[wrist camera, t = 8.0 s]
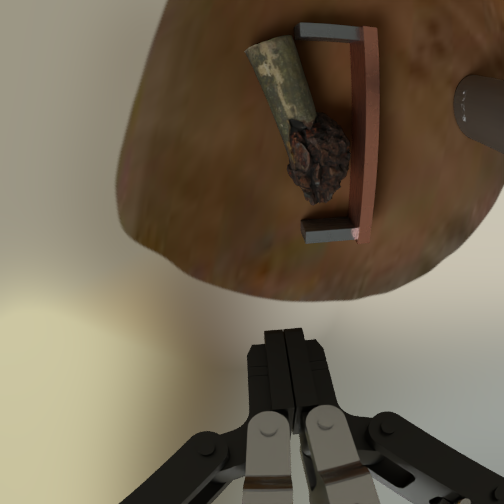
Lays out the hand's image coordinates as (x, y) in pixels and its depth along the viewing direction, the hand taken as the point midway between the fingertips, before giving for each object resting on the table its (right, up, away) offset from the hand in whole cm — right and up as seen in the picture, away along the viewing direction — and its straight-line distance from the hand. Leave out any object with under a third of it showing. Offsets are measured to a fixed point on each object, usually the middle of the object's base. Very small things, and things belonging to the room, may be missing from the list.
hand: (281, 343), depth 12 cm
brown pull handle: (+7, +17, +19) cm, 26 cm away
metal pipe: (+4, +18, +18) cm, 26 cm away
